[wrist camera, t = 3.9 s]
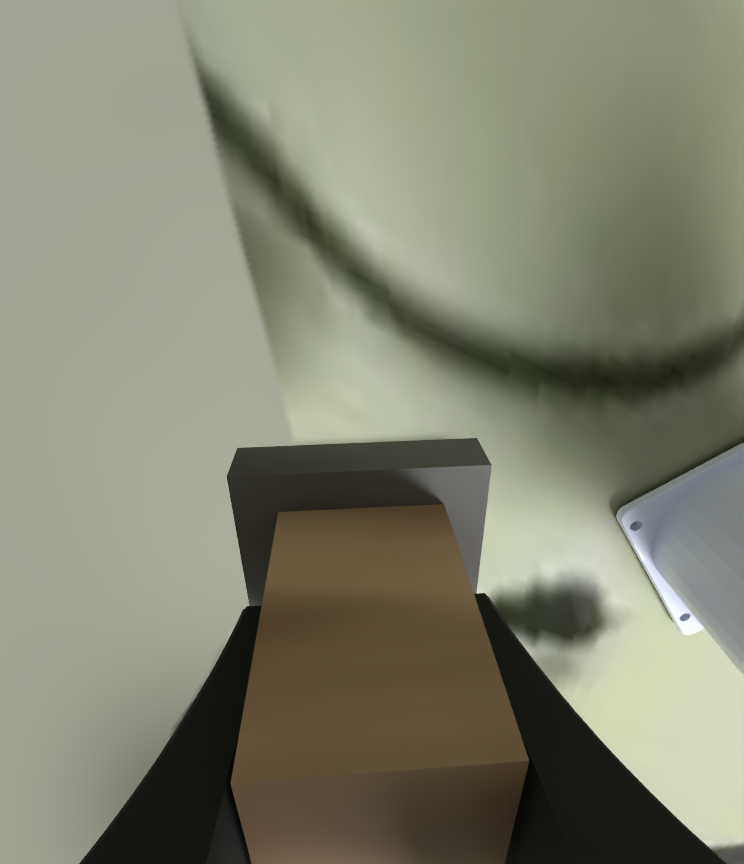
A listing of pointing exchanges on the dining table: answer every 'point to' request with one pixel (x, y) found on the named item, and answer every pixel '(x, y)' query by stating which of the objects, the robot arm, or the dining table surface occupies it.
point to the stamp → (371, 659)
